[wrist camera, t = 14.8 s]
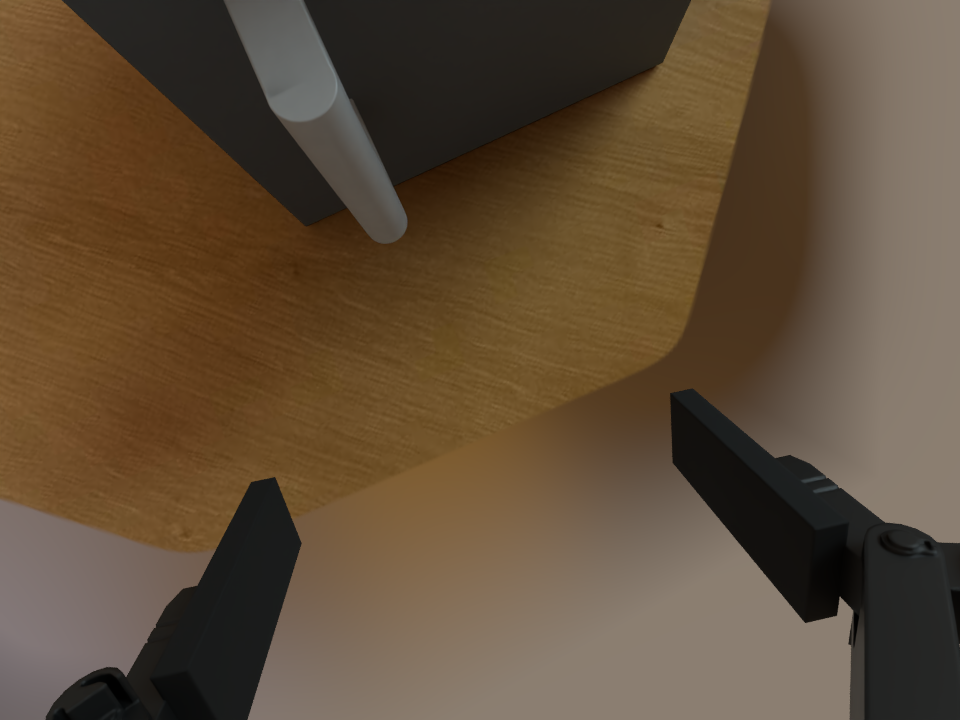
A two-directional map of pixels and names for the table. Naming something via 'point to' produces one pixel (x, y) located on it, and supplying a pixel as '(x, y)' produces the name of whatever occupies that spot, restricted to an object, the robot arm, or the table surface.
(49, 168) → the table surface
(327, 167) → the cupboard door
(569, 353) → the table surface
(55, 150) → the table surface
